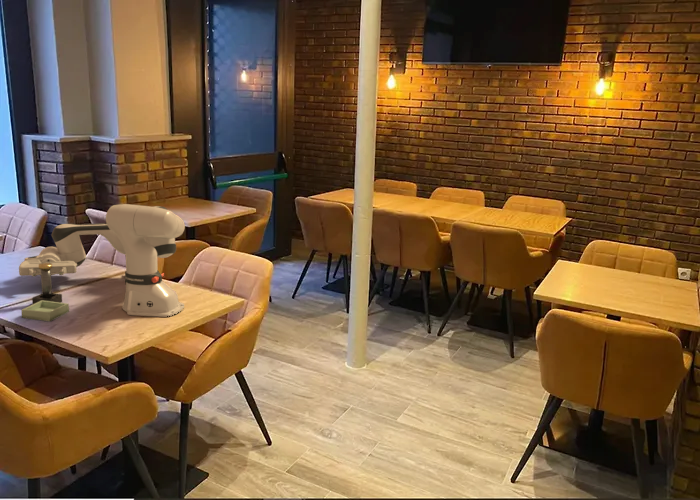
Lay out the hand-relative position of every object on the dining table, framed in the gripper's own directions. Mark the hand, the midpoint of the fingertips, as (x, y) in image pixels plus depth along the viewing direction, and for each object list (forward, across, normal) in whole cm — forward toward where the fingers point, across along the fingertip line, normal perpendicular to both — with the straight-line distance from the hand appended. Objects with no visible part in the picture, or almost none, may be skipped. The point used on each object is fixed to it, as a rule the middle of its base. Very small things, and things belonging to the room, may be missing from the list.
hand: (47, 273), depth 222 cm
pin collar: (+11, 0, -8) cm, 14 cm away
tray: (+23, 0, -8) cm, 25 cm away
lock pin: (+11, 0, -8) cm, 14 cm away
